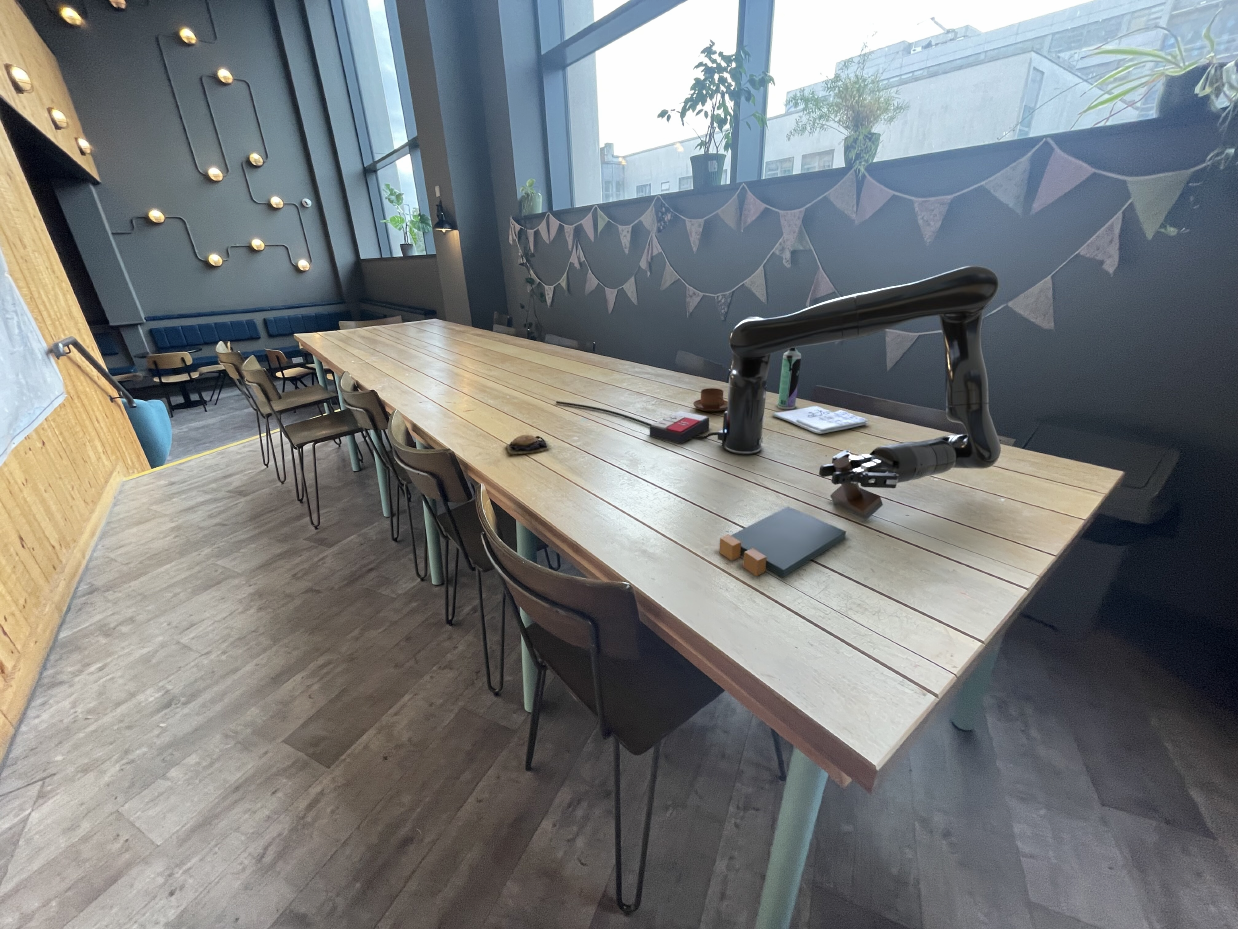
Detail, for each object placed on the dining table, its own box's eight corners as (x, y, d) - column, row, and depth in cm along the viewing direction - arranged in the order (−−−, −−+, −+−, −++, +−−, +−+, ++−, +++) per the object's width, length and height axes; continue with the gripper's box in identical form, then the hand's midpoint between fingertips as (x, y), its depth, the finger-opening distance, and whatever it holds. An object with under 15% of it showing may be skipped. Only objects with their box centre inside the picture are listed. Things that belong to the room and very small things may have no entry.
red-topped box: (648, 423, 133) (678, 408, 143) (649, 437, 135) (678, 421, 145) (681, 431, 127) (709, 415, 137) (681, 446, 128) (709, 428, 138)
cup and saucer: (736, 408, 157) (737, 390, 155) (717, 416, 149) (718, 397, 147) (706, 402, 165) (706, 384, 162) (686, 410, 157) (686, 392, 154)
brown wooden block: (727, 548, 82) (718, 552, 81) (728, 534, 81) (719, 537, 80) (740, 557, 79) (731, 561, 78) (741, 541, 78) (732, 545, 77)
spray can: (796, 409, 154) (803, 347, 146) (778, 409, 155) (785, 347, 147) (793, 404, 158) (801, 344, 150) (776, 404, 160) (783, 344, 152)
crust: (751, 563, 78) (742, 567, 77) (753, 547, 77) (744, 551, 76) (765, 572, 75) (756, 576, 74) (767, 556, 74) (758, 560, 73)
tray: (724, 544, 83) (725, 537, 82) (787, 512, 92) (788, 506, 92) (782, 577, 74) (783, 570, 73) (844, 538, 84) (846, 531, 83)
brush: (833, 503, 95) (816, 463, 90) (849, 489, 96) (833, 448, 90) (866, 520, 88) (849, 477, 83) (883, 505, 89) (868, 461, 83)
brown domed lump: (509, 457, 124) (507, 444, 122) (506, 446, 131) (504, 433, 130) (549, 451, 127) (548, 438, 125) (543, 440, 134) (542, 428, 132)
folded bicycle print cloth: (819, 435, 131) (821, 428, 130) (771, 416, 148) (771, 409, 147) (869, 425, 138) (870, 418, 137) (817, 407, 155) (818, 401, 154)
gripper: (878, 432, 96) (805, 443, 92) (938, 457, 83) (858, 471, 79) (871, 466, 99) (800, 478, 95) (928, 495, 86) (850, 510, 82)
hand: (827, 475), depth 87 cm, fingers closed on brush, 3 cm apart
